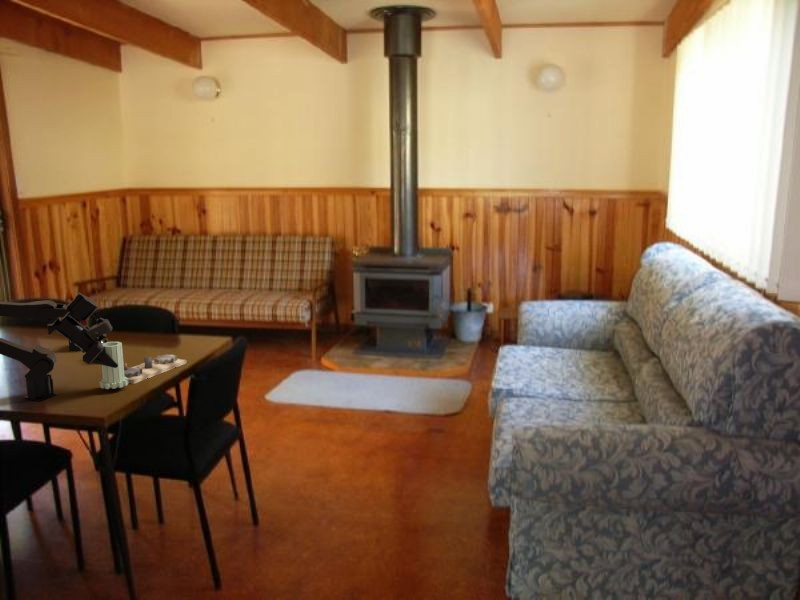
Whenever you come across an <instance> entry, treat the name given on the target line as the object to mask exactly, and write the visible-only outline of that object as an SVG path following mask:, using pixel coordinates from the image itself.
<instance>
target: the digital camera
mask: <svg viewBox="0 0 800 600" xmlns="http://www.w3.org/2000/svg"><path fill="white" fill-rule="evenodd" d="M70 342H71V341H69V340H68V348H69V352H70V351H81V352H82V349H80V348H79V347H78V346H76V345H75V344H74V345H72V344H70Z"/></svg>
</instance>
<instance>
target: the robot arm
mask: <svg viewBox="0 0 800 600" xmlns="http://www.w3.org/2000/svg"><path fill="white" fill-rule="evenodd" d="M99 307H100V306H99V305H98V304H97V302H96V301H95V300H94V299H92V298H91V297H88V296H86V295H85V294H83V293H81V292H78V294H77V295H75V298H74V299H72V301H71V302H70V303H68V304H67V303H66V304H64V303H56V302H55V301H54V300H49V299H46V300H37V301H36V300H35V301H30V302H12V301H0V317H14V318H15V317H16V318H25V319H27V320H30V321H33V322H37V323H43V324H47V325H46V328H47V334H48V335H49V336H50V335H52V334H53V333H54V332H57V333H58V334H60V335H61V336H63V338H65V339H67V340H68V342H69V341H71V342H70V344H72V345H74V344H75V345H76V346H78V347H79V348H80V349H82V351H81V353H82V361H83V362H84V363H85V364H87V365H89V364H96V365H100V366H102V365H105V366H109V367H113V368H116V367H117V366H118V364H117V363H116V362H115V361H114V360H113V359H112V358H111V357H110V356H109V355H108V354H107V353H106V346H103V345H102V344H103V343H106V342H108V338H107V334H108V333H111V332H112V331H113V325H112V324H111V323H110V320H109V319H108V318H105V319H104V318H103V317H100V318H97V319H95V321H96V324H94V325H92V326H91V327H90V326H88V325H83V324H82V323H80V322H81V321H84V322H85V321H87V319H89V318H90V317H91V316H92V315H93V313H94V312H96V310H98V308H99ZM64 315H65V316H64ZM55 319H56V320H55ZM54 320H55V321H54ZM51 322H53V323H51ZM103 339H104V340H103ZM0 355H1V356H4V357H7V358H10V359H13V360H15V361H17V362H20V364H22V365H23V366H25V367H26V368H27V371H26V373H25V374H24V379H25V384H26V386H25V387H26V393H27V394H26V395H25V396H23V398H24V399H26V400H31V401H36V402H40V401H41V402H42V401H43V400H46V399H49V398H52V397H54V396H57V395H58V393H57V392H55V389H54V380H53V377H52V374H50V373H51V372H52V371H53V369H54V367H55V366H56V363H57V357H56V354H55V353H54V352H53V351H51V348H46V347H43V346H41V345H40V344H37V343H36V344H35V346H34V347H26V346H23V345H21V344H18V343H15V342H13V341H11V340H8V339H5V338H2V337H0Z"/></svg>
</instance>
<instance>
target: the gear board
mask: <svg viewBox="0 0 800 600" xmlns="http://www.w3.org/2000/svg"><path fill="white" fill-rule="evenodd" d="M143 361H144V362H143V363H140V364H138V365H135V366H132V367H131V366H128V364H127V362H123V364H124V376H125V377H127V378H128V381H129V384H133V385H134V384H138V383H140V382H141V381H145V380H147V378H148V379H150V378H152V377H154V376H158V375H161V374H162V373H165V372H168V371H170V370H173V369H175V367H176V368H177V367H181V366H182V365H183V366H184V365H186V364H188V363H187V359H183V358H178V355H175V353H174V354H162V355H156V357H154V358H153V357H152V356H146V357H143Z"/></svg>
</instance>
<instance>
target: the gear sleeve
mask: <svg viewBox="0 0 800 600" xmlns="http://www.w3.org/2000/svg"><path fill="white" fill-rule="evenodd" d="M102 345H103V346H106V353H107V354H108V355H109V356H110V357H111V358H112V359H113V360H114V361H115V362H116V363H117V364H118V366H117V367H116V368H113V367H109V366H105V365H101V371H102V372H101V373H102V379H101V380H100V381H99V387H100V388H101V389H106V390H109V389H112V390H113V389H117V388H123V387H126V386H129V385H128V384H130V383H129V381H128V378H127V377H125V376H124V364H123V363H124V355H123V353H124V352H123V343H122V342H121V341H107V342H106V343H103V344H102Z"/></svg>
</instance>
